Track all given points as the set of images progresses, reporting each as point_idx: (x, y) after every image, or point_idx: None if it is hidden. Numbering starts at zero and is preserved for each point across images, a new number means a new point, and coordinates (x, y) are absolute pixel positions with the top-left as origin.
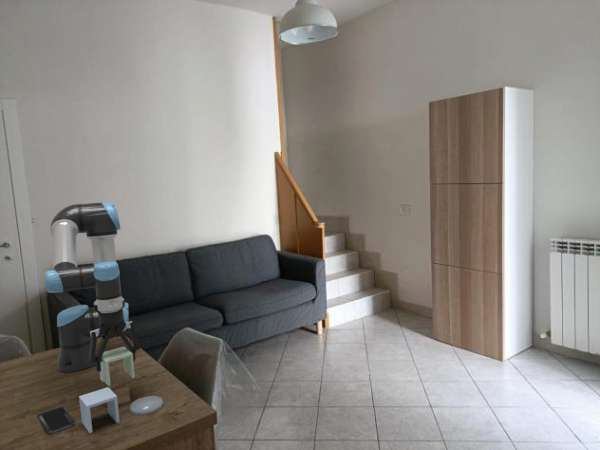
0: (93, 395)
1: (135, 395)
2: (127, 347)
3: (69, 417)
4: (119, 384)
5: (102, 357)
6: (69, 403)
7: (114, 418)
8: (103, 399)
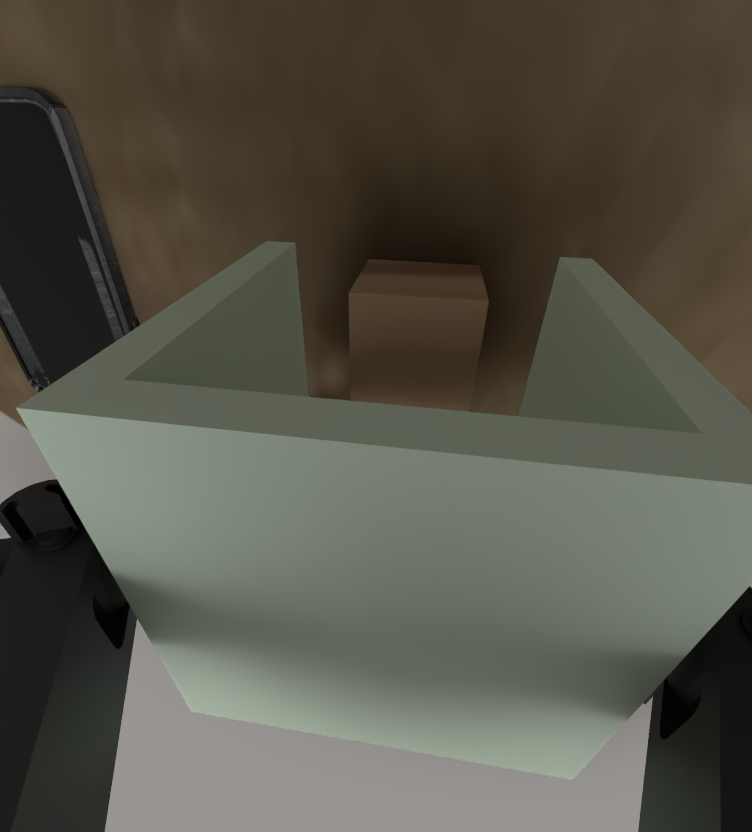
0: None
1: (529, 323)
2: (704, 713)
3: (118, 316)
4: (438, 324)
5: (149, 622)
6: (91, 17)
7: None
8: None
